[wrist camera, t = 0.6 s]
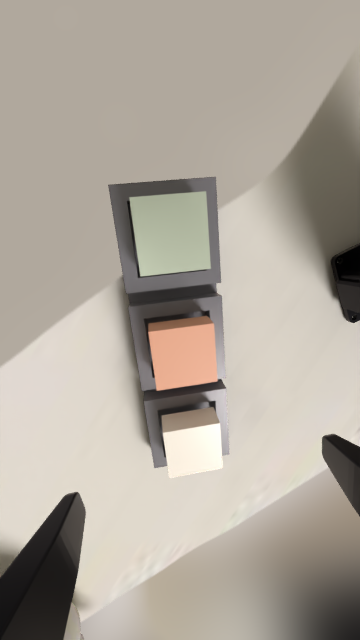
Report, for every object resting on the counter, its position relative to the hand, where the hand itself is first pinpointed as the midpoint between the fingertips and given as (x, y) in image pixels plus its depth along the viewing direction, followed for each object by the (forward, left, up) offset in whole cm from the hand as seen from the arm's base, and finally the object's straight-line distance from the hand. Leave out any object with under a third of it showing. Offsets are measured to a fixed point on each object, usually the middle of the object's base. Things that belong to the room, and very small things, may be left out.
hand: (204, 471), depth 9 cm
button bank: (-1, 0, -13) cm, 13 cm away
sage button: (-3, -8, -10) cm, 13 cm away
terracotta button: (-1, 0, -10) cm, 10 cm away
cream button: (+2, +7, -10) cm, 13 cm away
